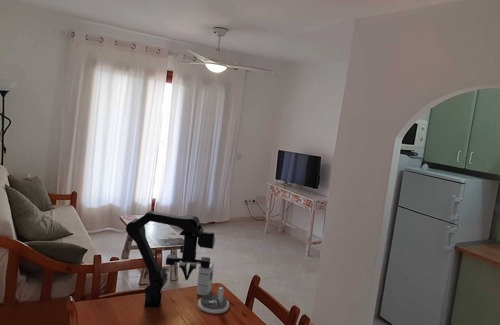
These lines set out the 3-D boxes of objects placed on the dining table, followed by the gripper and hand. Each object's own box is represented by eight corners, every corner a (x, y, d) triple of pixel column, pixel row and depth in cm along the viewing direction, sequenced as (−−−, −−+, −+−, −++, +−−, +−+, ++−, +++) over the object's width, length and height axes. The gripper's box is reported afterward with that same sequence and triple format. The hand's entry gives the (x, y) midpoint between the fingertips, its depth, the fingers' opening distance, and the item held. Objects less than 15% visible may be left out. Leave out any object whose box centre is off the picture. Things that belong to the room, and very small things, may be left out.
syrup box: (207, 296, 179) (210, 267, 178) (196, 294, 180) (198, 265, 179) (211, 291, 185) (214, 263, 183) (200, 289, 186) (202, 261, 184)
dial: (208, 311, 163) (210, 291, 162) (196, 298, 172) (198, 280, 172) (231, 306, 169) (234, 287, 168) (218, 294, 179) (220, 276, 178)
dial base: (196, 312, 164) (197, 308, 163) (199, 297, 177) (199, 294, 177) (229, 314, 165) (229, 311, 165) (228, 299, 179) (228, 296, 178)
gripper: (212, 241, 172) (208, 274, 173) (170, 237, 170) (167, 270, 172) (211, 249, 161) (207, 284, 162) (167, 246, 159) (163, 281, 161)
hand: (186, 279), depth 165 cm, fingers closed
